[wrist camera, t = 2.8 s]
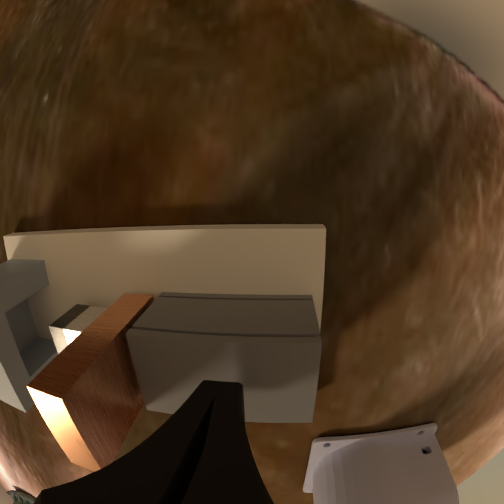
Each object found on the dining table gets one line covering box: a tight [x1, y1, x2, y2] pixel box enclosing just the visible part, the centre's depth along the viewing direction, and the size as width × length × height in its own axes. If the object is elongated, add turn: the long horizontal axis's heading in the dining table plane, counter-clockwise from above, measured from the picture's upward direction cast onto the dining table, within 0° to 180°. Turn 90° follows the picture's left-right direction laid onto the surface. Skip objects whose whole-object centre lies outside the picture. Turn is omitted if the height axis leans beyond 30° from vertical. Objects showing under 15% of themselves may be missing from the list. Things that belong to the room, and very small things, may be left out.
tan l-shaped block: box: [27, 293, 154, 471], centre depth 11 cm, size 12×4×8 cm, turn 92°
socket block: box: [0, 259, 58, 413], centre depth 13 cm, size 4×7×6 cm, turn 1°
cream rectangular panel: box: [4, 224, 326, 423], centre depth 13 cm, size 19×10×5 cm, turn 92°
